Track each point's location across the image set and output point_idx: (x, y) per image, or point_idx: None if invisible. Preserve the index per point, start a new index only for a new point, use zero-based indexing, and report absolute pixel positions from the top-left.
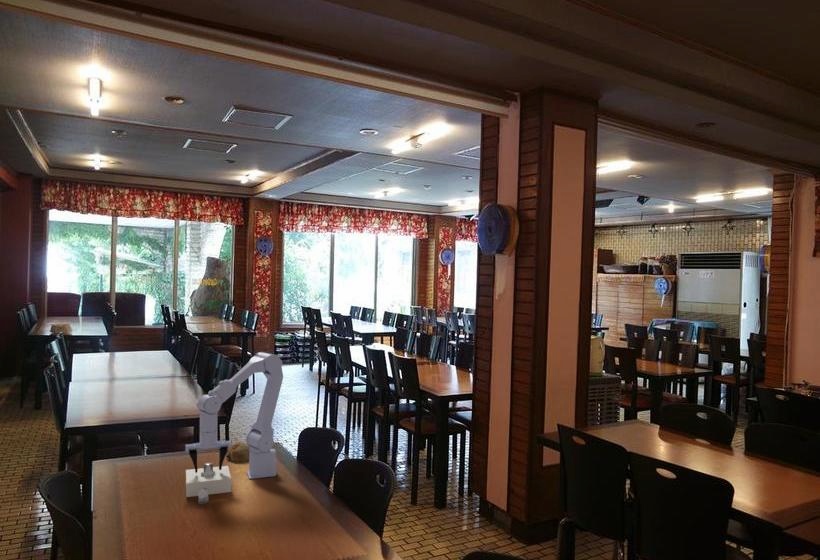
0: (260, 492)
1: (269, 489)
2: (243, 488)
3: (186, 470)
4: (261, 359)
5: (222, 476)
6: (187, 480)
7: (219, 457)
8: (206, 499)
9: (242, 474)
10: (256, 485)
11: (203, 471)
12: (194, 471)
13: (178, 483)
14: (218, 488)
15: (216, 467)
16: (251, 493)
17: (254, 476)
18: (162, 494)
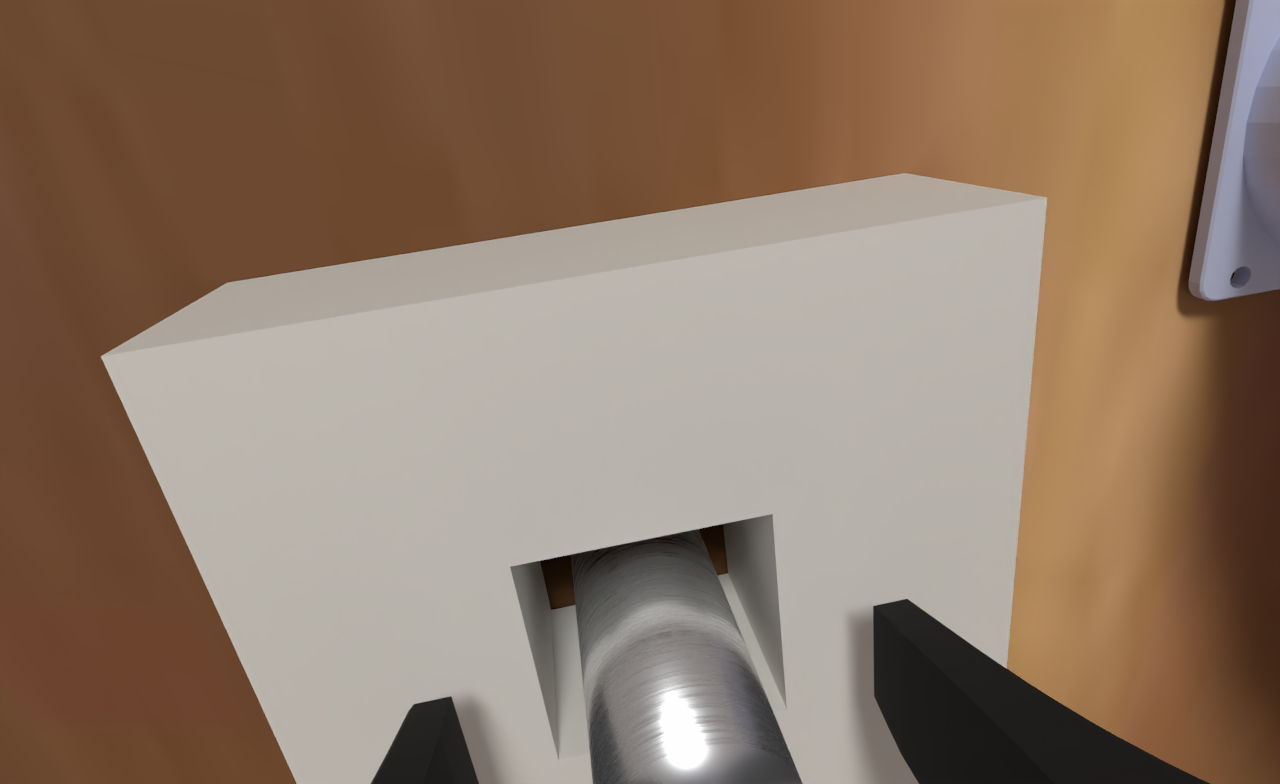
0: (1167, 698)
1: (1269, 635)
2: (1039, 588)
3: (133, 395)
4: None
5: (886, 746)
6: None
7: (1024, 767)
8: None
9: (1147, 15)
10: (1191, 515)
11: (553, 503)
12: (358, 488)
13: (96, 287)
14: None
15: (804, 289)
16: (1083, 716)
17: (1277, 254)
18: (43, 693)
